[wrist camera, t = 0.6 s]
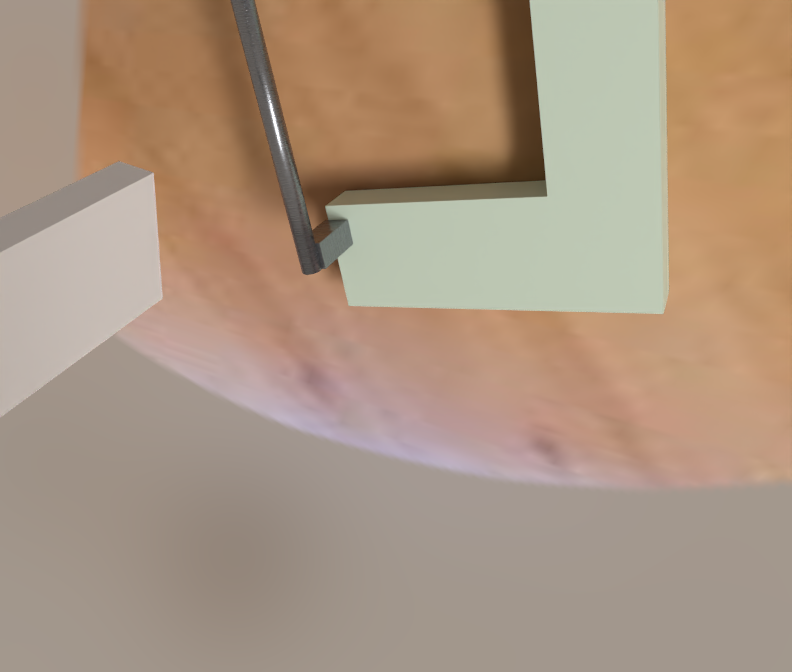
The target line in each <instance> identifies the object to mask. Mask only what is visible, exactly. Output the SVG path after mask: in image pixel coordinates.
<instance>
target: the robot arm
mask: <svg viewBox="0 0 792 672" xmlns="http://www.w3.org/2000/svg"><path fill="white" fill-rule="evenodd" d="M162 298H163V297H162V283H161V270H160V256H159V242H158V228H157V214H156V200H155V186H154V173H153V172H150V171H147V170H144V169H141V168H138V167H135V166H132V165H129V164H126V163H123V162H120V161H119V162H117V163H115V164H112V165H110V166H108V167H106V168H104V169H102V170H100V171H98V172H96V173H93V174H91V175H89V176H87V177H85V178H83V179H81V180H79V181H77V182H75V183H72V184H70V185H68V186H66V187H64V188H62V189H60V190H58V191H56V192H53V193H52V194H49V195H47V196H45V197H43V198H41V199H39V200H37V201H35V202H32V203H31V204H28V205H26V206H24V207H22V208H20V209H18V210H16V211H13V212H11V213H9V214H7V215H5V216H3V217H1V218H0V417H1V416H3V415H4V414H6V413H7V412H8V411H10V410H11V409H12V408H14V407H15V406H16V405H18V404H19V403H20V402H22V401H23V400H25V399H26V398H27V397H29V396H30V395H31V394H33V393H34V392H36V391H37V390H38V389H39V388H41V387H42V386H44V385H45V384H46V383H47V382H49V381H51V380H52V379H53V378H55V377H56V376H57V375H59V374H60V373H61V372H63V371H64V370H66V369H67V368H68V367H70V366H71V365H72V364H74V363H75V362H76V361H78V360H79V359H80V358H82V357H83V356H85V355H86V354H87V353H89V352H90V351H91V350H93V349H94V348H96V347H97V346H98V345H99V344H101V343H102V342H104V341H105V340H106V339H108V338H109V337H111V336H112V335H113V334H115V333H116V332H117V331H119V330H120V329H121V328H123V327H124V326H126V325H127V324H128V323H130V322H131V321H132V320H134V319H135V318H136V317H138V316H139V315H141V314H142V313H143V312H145V311H146V310H147V309H149V308H150V307H151V306H153V305H154V304H156V303H157V302H158V301H160V300H161V299H162Z"/></svg>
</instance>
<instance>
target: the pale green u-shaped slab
mask: <svg viewBox="0 0 792 672" xmlns="http://www.w3.org/2000/svg"><path fill="white" fill-rule="evenodd" d="M530 11H531V22H532V33H533V44H534V55H535V66H536V76H537V87H538V98H539V109H540V120H541V131H542V142H543V153H544V164H545V175H546V180H543V181H524V182H504V183H485V184H466V185H447V186H428V187H409V188H390V189H371V190H351V191H344V192H343V193H342V194H340V195H339V196H338V197H336V198H335V199H334V200H332V201H331V202H330V203H328V204H327V205H326V206H325V208H326V212H327V216H328V220H348V222H349V227H350V231H351V236H352V240H353V245H352V246H350V247H349V248H348V249H347V250H346V251H345V252H344V253H343V254H342V255H340V256H339V257H338V262H339V266H340V271H341V275H342V279H343V283H344V288H345V292H346V296H347V300H348V304H349V306H374V307H414V308H453V309H492V310H532V311H571V312H611V313H650V314H664V310H665V306H666V302H667V297H668V293H669V254H668V178H667V101H666V25H665V0H530Z"/></svg>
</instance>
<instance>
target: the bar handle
mask: <svg viewBox="0 0 792 672" xmlns="http://www.w3.org/2000/svg"><path fill="white" fill-rule="evenodd" d="M231 4H232V8H233V12H234V16H235V19H236V23H237V27H238V31H239V35H240V38H241V42H242V46H243V50H244V54H245V57H246V61H247V65H248V69H249V72H250V76H251V80H252V84H253V88H254V91H255V95H256V99H257V103H258V107H259V110H260V114H261V118H262V122H263V125H264V129H265V133H266V137H267V141H268V144H269V148H270V152H271V156H272V160H273V163H274V167H275V171H276V175H277V179H278V182H279V186H280V190H281V194H282V197H283V201H284V205H285V209H286V213H287V216H288V220H289V224H290V228H291V232H292V235H293V239H294V243H295V247H296V250H297V254H298V258H299V262H300V266H301V269H302V273H303V274H305V275H309V274H314V273H317V272H319V271H320V270H321V269H326V268H327V267H328V266H329V265H330V264H332V263H333V262H334V261H335V260H336V259H337V258H338V257H339V256H340V255H342V254H343V253H344V252H345V251H346V250H347V249H348V248H349V247H350V246H352V245H353V240H352V236H351V231H350V227H349V222H348V220H325V221H324V222H322V223H321V224H320V225H319V226H317V227H316V228H315V229H314V230H312V228H311V224H310V220H309V216H308V212H307V208H306V204H305V200H304V196H303V192H302V188H301V184H300V180H299V176H298V172H297V168H296V164H295V160H294V156H293V152H292V148H291V144H290V140H289V136H288V132H287V128H286V124H285V120H284V116H283V112H282V108H281V104H280V100H279V96H278V92H277V88H276V84H275V80H274V76H273V72H272V68H271V64H270V60H269V56H268V52H267V48H266V44H265V40H264V36H263V32H262V28H261V24H260V20H259V16H258V12H257V8H256V4H255V0H231Z"/></svg>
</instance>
